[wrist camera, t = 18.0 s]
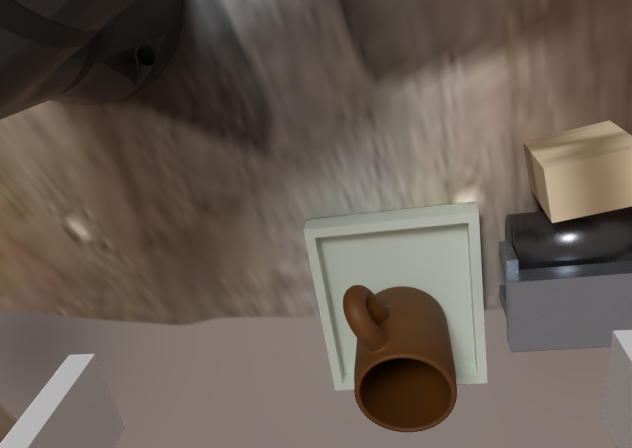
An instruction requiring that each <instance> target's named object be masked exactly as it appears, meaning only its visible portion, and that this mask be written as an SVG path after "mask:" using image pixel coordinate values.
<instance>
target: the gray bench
mask: <svg viewBox="0 0 632 448" xmlns="http://www.w3.org/2000/svg"><path fill="white" fill-rule="evenodd" d="M505 240H506V241H500V242H499V256H500V258H501V261H502V264H503V266H504V269H505V282H506V285H500V286H499V292H500V300H501V303H502V306H503V309H504V312H505V315H506V318H507V340H508V343H509V346H510V349H511V352H525V351H544V350H561V349H578V348H595V347H596V348H597V347H611V341H612V332H613V331H616V330H632V206H631V207H626V208H622V209H617V210H612V211H608V212H603V213H598V214H593V215H589V216H584V217H579V218H574V219H570V220H565V221H560V222H555V223H552V222H551V221H550V219H549V218H548V216H547V215H546V213H545V211H541V212H531V213H521V214H511V215H507V216H506V221H505Z"/></svg>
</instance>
